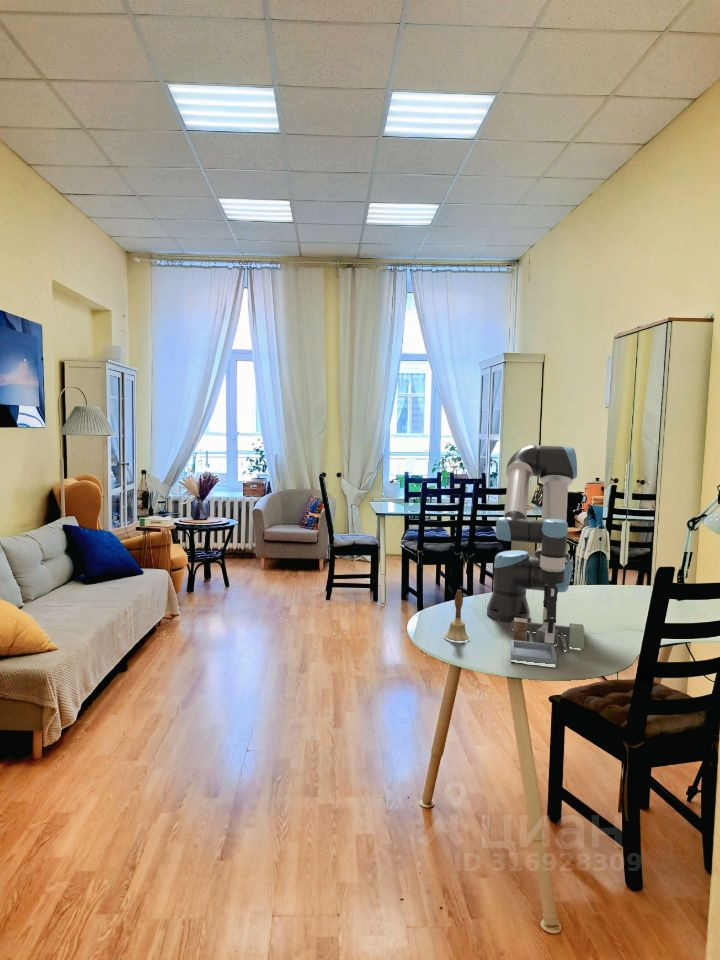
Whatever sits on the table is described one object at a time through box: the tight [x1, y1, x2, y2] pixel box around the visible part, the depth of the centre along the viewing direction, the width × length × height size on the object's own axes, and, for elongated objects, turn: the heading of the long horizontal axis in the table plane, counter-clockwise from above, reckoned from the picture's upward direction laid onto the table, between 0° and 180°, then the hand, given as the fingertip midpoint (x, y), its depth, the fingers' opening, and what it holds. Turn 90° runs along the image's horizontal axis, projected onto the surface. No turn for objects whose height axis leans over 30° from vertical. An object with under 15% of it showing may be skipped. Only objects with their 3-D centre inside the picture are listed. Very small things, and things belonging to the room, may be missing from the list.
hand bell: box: [444, 589, 470, 641], centre depth 201 cm, size 8×8×16 cm
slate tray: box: [510, 639, 558, 666], centre depth 188 cm, size 13×13×2 cm
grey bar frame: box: [510, 621, 569, 651], centre depth 202 cm, size 22×16×3 cm
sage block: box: [567, 622, 585, 650], centre depth 197 cm, size 4×4×7 cm
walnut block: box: [512, 618, 528, 642], centre depth 201 cm, size 4×4×7 cm
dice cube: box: [535, 626, 559, 645], centre depth 199 cm, size 5×5×5 cm
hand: (547, 635), depth 199 cm, fingers open, 13 cm apart
